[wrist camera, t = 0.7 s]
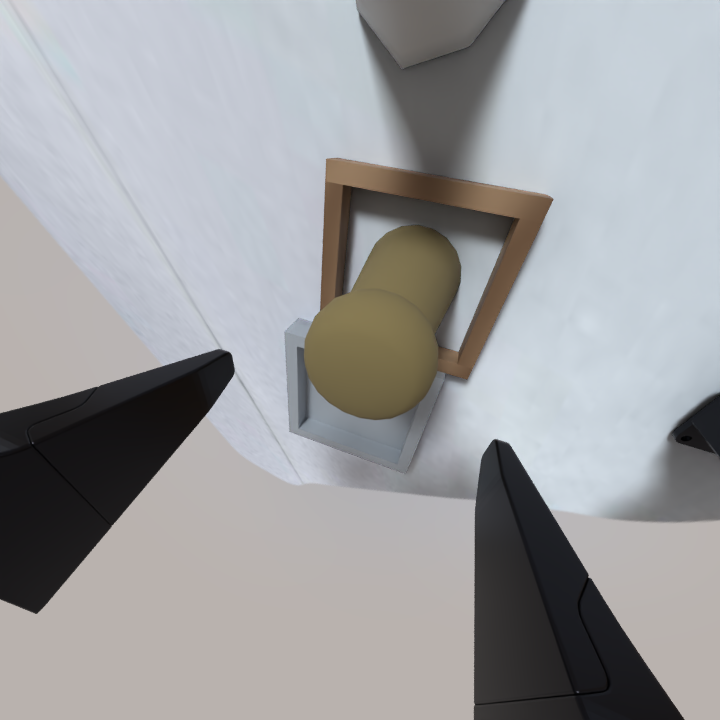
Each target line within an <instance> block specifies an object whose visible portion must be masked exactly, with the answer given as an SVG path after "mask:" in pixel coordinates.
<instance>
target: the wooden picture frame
mask: <svg viewBox="0 0 720 720" xmlns="http://www.w3.org/2000/svg"><path fill="white" fill-rule="evenodd" d="M352 187H358V188H363V189H368V190H373V191H378V192H383V193H389V194H394V195H399V196H404V197H409V198H415V199H420V200H425V201H430V202H435V203H441V204H446V205H451V206H456V207H461V208H467V209H472V210H477V211H482V212H487V213H493V214H498V215H503V216H508V217H513V218H514V221H513V223H512V225H511V228H510V230H509V233H508V235H507V237H506V240H505V242H504V245H503V247H502V249H501V252H500V254H499V257H498V259H497V261H496V264H495V266H494V268H493V271H492V273H491V276H490V278H489V280H488V283H487V285H486V288H485V290H484V292H483V295H482V297H481V300H480V302H479V304H478V307H477V309H476V311H475V314H474V316H473V319H472V321H471V323H470V326H469V328H468V331H467V333H466V335H465V338H464V340H463V343H462V345H461V347H460V350H459V352H457V351H453V350H449V349H446V348H442V347H439V346H438V368H437V371H440V372H443V373H446V374H450V375H453V376H457V377H460V378H463V379H468V377H469V375H470V373H471V371H472V369H473V367H474V365H475V362H476V360H477V358H478V356H479V354H480V352H481V350H482V348H483V346H484V344H485V341H486V339H487V337H488V335H489V333H490V331H491V329H492V327H493V325H494V323H495V321H496V318H497V316H498V314H499V312H500V310H501V308H502V306H503V304H504V302H505V300H506V298H507V295H508V293H509V291H510V289H511V287H512V285H513V283H514V281H515V279H516V277H517V275H518V272H519V270H520V268H521V266H522V264H523V262H524V260H525V258H526V256H527V254H528V251H529V249H530V247H531V245H532V243H533V241H534V239H535V237H536V235H537V233H538V231H539V228H540V226H541V224H542V222H543V220H544V218H545V216H546V214H547V212H548V210H549V208H550V205H551V203H552V201H553V198H551V197H550V196H548V195H545V194H540V193H534V192H528V191H523V190H517V189H511V188H506V187H500V186H494V185H489V184H483V183H477V182H471V181H466V180H460V179H454V178H449V177H443V176H437V175H432V174H426V173H420V172H415V171H409V170H403V169H398V168H392V167H386V166H380V165H375V164H369V163H363V162H358V161H352V160H346V159H341V158H329V159H326V179H325V204H324V229H323V255H322V280H321V305H320V311H321V310H322V309H323V308H324V307H325V306H327V305H328V304H329V303H330V302H331V301H332V300H333V299H334V298H336V297H339V296H342V291H343V280H344V269H345V258H346V247H347V235H348V224H349V213H350V202H351V191H352Z"/></svg>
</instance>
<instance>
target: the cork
mask: <svg viewBox="0 0 720 720" xmlns="http://www.w3.org/2000/svg"><path fill="white" fill-rule="evenodd" d="M460 279H461V265H460V261H459V258H458V254H457V251H456V250H455V249H454V247H453V246H452V244H451V243H450V242H449V240H448V239H447V238H446V237H444V236H443V235H441V234H440V233H438V232H437V231H436V230H434V229H431V228H427V227H423V226H420V225H411V226H401V227H399V228H397V229H394V230H392V231H390V232H388V233H386V234H385V235H384V236H383V237H382V238H381V239H380V240H379V241H378V242H377V243H376V244H375V245H374V247H373V249H372V251H371V253H370V255H369V257H368V259H367V261H366V263H365V265H364V267H363V269H362V271H361V273H360V275H359V277H358V279H357V281H356V283H355V285H354V287H353V289H352V291H351V292H350V293H347V294H345V295H342V296H339V297H336V298H334V299H333V300H332V301H331V302H330V303H329V304H328V305H327V306H325V307H324V308H323V309H322V310H321V311H320V312H319V313H318V314H317V315H316V316H315V318H314V320H313V322H312V324H311V326H310V328H309V330H308V333H307V335H306V338H305V343H304V361H305V367H306V370H307V373H308V377H309V379H310V381H311V382H312V384H313V385H314V387H315V389H316V390H317V392H318V393H319V394H320V395H321V396H322V397H323V398H324V399H325V400H327V401H328V402H329V403H330V404H331V405H333V406H335V407H336V408H338V409H339V410H341V411H343V412H345V413H347V414H350V415H353V416H355V417H358V418H363V419H370V420H383V419H392V418H394V417H396V416H399V415H401V414H404V413H406V412H408V411H409V410H411V409H413V408H414V407H415V406H416V405H417V404H418V403H419V402H420V401H422V400H423V399H424V398H425V396H426V395H427V393H428V392H429V390H430V388H431V386H432V383H433V381H434V379H435V377H436V374H437V368H438V344H437V341H436V338H435V333H436V331H437V329H438V327H439V325H440V323H441V321H442V319H443V317H444V316H445V314H446V312H447V310H448V308H449V306H450V304H451V302H452V300H453V298H454V296H455V294H456V292H457V289H458V287H459V284H460Z"/></svg>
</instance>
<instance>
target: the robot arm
mask: <svg viewBox="0 0 720 720" xmlns="http://www.w3.org/2000/svg"><path fill="white" fill-rule="evenodd" d="M234 372H235V368H234V363H233V358H232V354H231V353H230V352H228V351H225V350H222V349H217V350H214V351H211V352H208V353H204V354H201V355H198V356H195V357H191V358H188V359H185V360H182V361H178V362H175V363H172V364H169V365H165V366H162V367H159V368H156V369H153V370H149V371H146V372H143V373H140V374H136V375H133V376H130V377H126V378H123V379H120V380H117V381H114V382H110V383H107V384H104V385H101V386H99V387H94V388H91V389H88V390H84V391H81V392H78V393H75V394H71V395H67V396H64V397H61V398H57V399H54V400H50V401H46V402H42V403H39V404H34V405H31V406H27V407H23V408H19V409H15V410H11V411H7V412H3V413H0V599H1V600H3V601H6V602H8V603H11V604H13V605H16V606H18V607H20V608H23V609H25V610H28V611H30V612H33V613H35V614H37V613H38V612H39V611H40V610H41V609H42V608H43V607H44V606H45V605H46V604H47V603H48V602H49V600H50V599H51V598H52V597H53V596H54V594H55V593H56V592H57V591H58V590H59V588H60V587H61V586H62V585H63V584H64V582H65V581H66V580H67V579H68V578H69V577H70V575H71V574H72V573H73V572H74V571H75V570H76V568H77V567H78V566H79V565H80V563H81V562H82V561H83V560H84V559H85V558H86V557H87V555H88V554H89V553H90V552H91V551H92V549H93V548H94V547H95V546H96V544H97V543H98V542H99V541H100V540H101V539H102V537H103V536H104V535H105V534H106V533H107V532H108V530H109V529H110V528H111V527H112V525H113V524H114V523H115V522H116V521H117V520H118V518H119V517H120V516H121V515H122V514H123V512H124V511H125V510H126V509H127V508H128V507H129V505H130V504H131V503H132V502H133V500H134V499H135V498H136V497H137V496H138V495H139V494H140V492H141V491H142V490H143V489H144V488H145V486H146V485H147V484H148V483H149V482H150V481H151V479H152V478H153V477H154V476H155V475H156V473H157V472H158V471H159V470H160V469H161V467H162V466H163V465H164V464H165V463H166V462H167V460H168V459H169V458H170V457H171V456H172V454H173V453H174V452H175V451H176V450H177V449H178V447H179V446H180V445H181V444H182V443H183V441H184V440H185V439H186V438H187V437H188V436H189V434H190V433H191V432H192V431H193V430H194V428H195V427H196V426H197V425H198V424H199V422H200V421H201V420H202V419H203V418H204V417H205V415H206V414H207V413H208V412H209V410H210V409H211V408H212V406H213V405H214V404H215V402H216V401H217V399H218V398H219V396H220V395H221V393H222V392H223V390H224V389H225V387H226V386H227V384H228V383H229V382H230V380H231V379H232V377H233V375H234ZM672 436H673V437H674V439H675V440H676V441H677V442H678V443H681V444H684V445H687V446H691V447H694V448H698V449H701V450H704V451H708V452H711V453H715V454H716V455H717V456H718V457H719V459H720V395H719V396H718V397H717V398H716V399H714V400H713V401H712V402H711V403H709V404H708V405H707V406H705V407H704V408H703V409H702V410H700V411H699V412H698V413H697V414H695V415H694V416H693V417H691V418H690V419H689V420H688V421H686V422H685V423H684V424H683V425H681V426H680V427H679V428H677V429H676V430H675V431H674V432H673V433H672ZM588 576H589V575H588V573H587V571H586V570H585V568H584V566H583V564H582V563H581V561H580V559H579V558H578V556H577V555H576V553H575V551H574V550H573V548H572V546H571V545H570V543H569V541H568V540H567V538H566V536H565V535H564V533H563V531H562V530H561V528H560V526H559V525H558V523H557V521H556V520H555V518H554V517H553V515H552V513H551V512H550V510H549V508H548V507H547V505H546V503H545V502H544V500H543V498H542V497H541V495H540V493H539V492H538V490H537V488H536V487H535V485H534V483H533V482H532V480H531V479H530V477H529V475H528V474H527V472H526V470H525V469H524V467H523V465H522V464H521V462H520V460H519V459H518V457H517V455H516V454H515V452H514V450H513V449H512V447H511V446H510V444H509V443H507V442H504V441H501V440H498V439H494V440H493V441H492V442H491V443H490V445H489V446H488V448H487V449H486V451H485V452H484V454H483V456H482V459H481V466H480V474H479V482H478V489H477V497H476V507H475V620H474V621H475V622H474V623H475V624H474V627H475V628H474V629H475V630H474V634H475V635H474V638H475V639H474V641H475V642H474V703H475V706H474V720H684V718H683V717H682V715H681V714H680V712H679V711H678V709H677V708H676V707H675V705H674V704H673V702H672V701H671V699H670V698H669V697H668V695H667V694H666V692H665V691H664V689H663V688H662V686H661V685H660V684H659V682H658V681H657V679H656V678H655V676H654V675H653V673H652V672H651V670H650V669H649V668H648V666H647V665H646V663H645V662H644V660H643V659H642V657H641V656H640V654H639V653H638V652H637V650H636V648H635V647H634V645H633V644H632V643H631V641H630V639H629V638H628V636H627V635H626V633H625V632H624V631H623V629H622V628H621V626H620V624H619V623H618V621H617V620H616V618H615V616H614V615H613V613H612V612H611V610H610V608H609V607H608V605H607V604H606V602H605V601H604V599H603V597H602V596H601V594H600V592H599V591H598V589H597V587H596V586H595V584H594V582H593V581H592V579H591V578H588Z"/></svg>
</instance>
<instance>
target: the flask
mask: <svg viewBox="0 0 720 720" xmlns="http://www.w3.org/2000/svg"><path fill="white" fill-rule="evenodd" d="M504 1H505V0H356V6H357V10H358V11H359V13H360V14H361V15H362V17H363V18H364V19H365V21H366V22H367V23H368V25H369V26H370V27H371V29H372V30H373V31H374V33H375V34H376V35H377V37H378V38H379V39H380V41H381V42H382V43H383V45H384V46H385V47H386V49H387V50H388V51H389V53H390V54H391V55H392V57H393V58H394V59H395V61H396V62H397V63H398V65H399V66H400V67H401V69H403V68H406V67H409V66H412V65H415V64H418V63H421V62H424V61H428V60H431V59H434V58H437V57H440V56H443V55H446V54H449V53H452V52H455V51H458V50H461V49H464V48H467V47H470V45H471V44H472V43H473V42H474V40H475V39H476V38H477V36H478V35H479V34H480V33H481V31H482V30H483V29H484V27H485V26H486V25H487V23H488V22H489V21H490V20H491V18H492V17H493V16H494V14H495V13H496V12H497V11H498V9H499V8H500V7H501V5H502V4H503V3H504Z"/></svg>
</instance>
